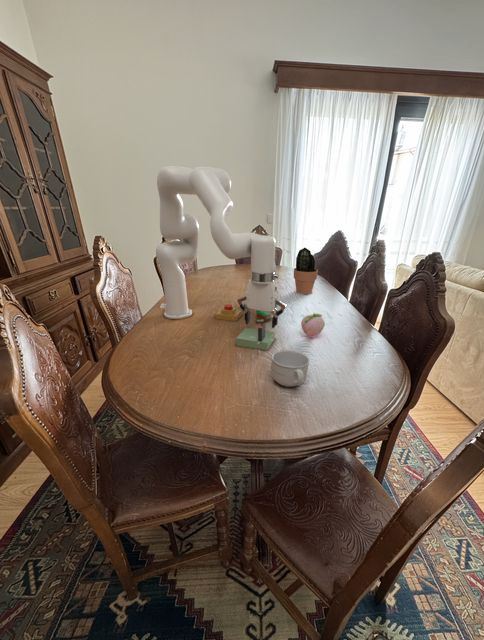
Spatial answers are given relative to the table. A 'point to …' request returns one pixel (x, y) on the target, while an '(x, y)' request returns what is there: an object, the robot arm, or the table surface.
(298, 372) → the teacup
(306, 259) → the potted plant
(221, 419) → the table surface
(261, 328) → the black rectangular slab
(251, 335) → the panel
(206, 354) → the table surface
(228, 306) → the button
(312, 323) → the decorative fruit
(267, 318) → the food container
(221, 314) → the button block
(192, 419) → the table surface
